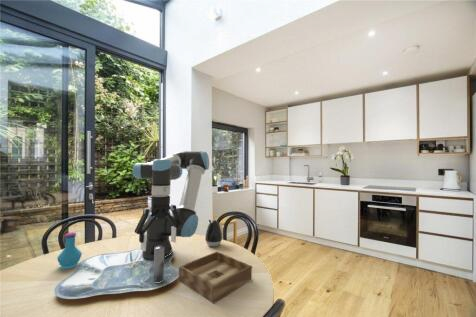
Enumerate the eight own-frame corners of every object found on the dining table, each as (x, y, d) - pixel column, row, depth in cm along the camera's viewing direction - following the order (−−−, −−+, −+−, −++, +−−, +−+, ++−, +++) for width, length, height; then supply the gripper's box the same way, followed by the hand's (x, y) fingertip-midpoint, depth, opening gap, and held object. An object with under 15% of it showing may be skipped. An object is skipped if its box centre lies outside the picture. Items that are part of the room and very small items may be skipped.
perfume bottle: (83, 265, 104) (84, 233, 105) (58, 272, 98) (60, 238, 98) (78, 259, 111) (80, 229, 111) (55, 265, 104) (56, 233, 104)
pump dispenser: (215, 240, 141) (215, 217, 141) (225, 245, 133) (225, 220, 133) (201, 244, 134) (202, 219, 134) (211, 249, 126) (212, 223, 127)
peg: (151, 280, 92) (152, 247, 93) (160, 277, 95) (161, 244, 96) (156, 284, 90) (157, 250, 90) (165, 280, 93) (166, 247, 93)
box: (178, 280, 93) (179, 266, 93) (216, 263, 110) (217, 251, 110) (213, 303, 79) (214, 286, 79) (251, 279, 95) (251, 265, 95)
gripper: (135, 199, 81) (132, 257, 81) (190, 193, 100) (188, 240, 99) (126, 197, 86) (124, 251, 86) (180, 192, 105) (179, 236, 104)
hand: (159, 245), depth 93 cm, fingers open, 13 cm apart
